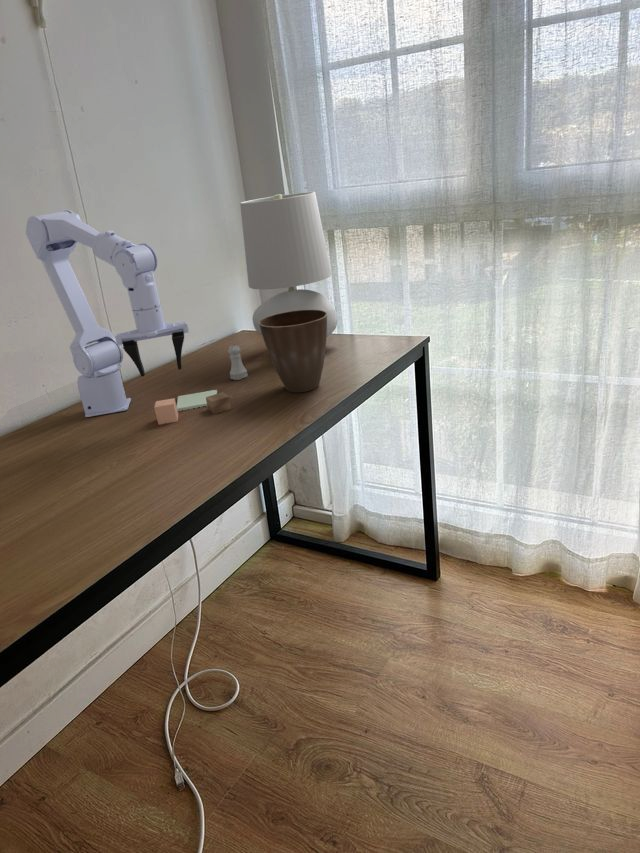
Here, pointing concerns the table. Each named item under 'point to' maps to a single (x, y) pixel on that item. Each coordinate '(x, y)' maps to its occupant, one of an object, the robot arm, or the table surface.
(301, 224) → the table lamp
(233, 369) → the rook chess piece
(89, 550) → the table surface
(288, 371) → the plant pot
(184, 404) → the base tile
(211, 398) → the walnut brick
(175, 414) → the terracotta brick
